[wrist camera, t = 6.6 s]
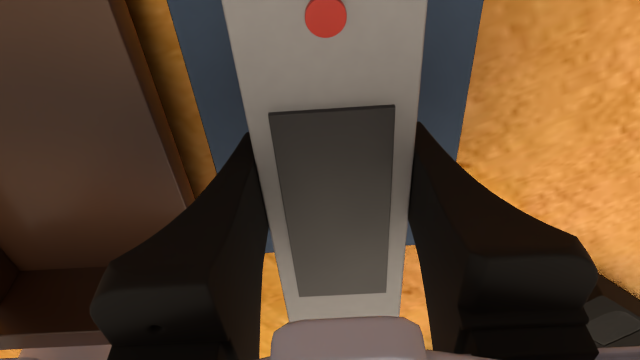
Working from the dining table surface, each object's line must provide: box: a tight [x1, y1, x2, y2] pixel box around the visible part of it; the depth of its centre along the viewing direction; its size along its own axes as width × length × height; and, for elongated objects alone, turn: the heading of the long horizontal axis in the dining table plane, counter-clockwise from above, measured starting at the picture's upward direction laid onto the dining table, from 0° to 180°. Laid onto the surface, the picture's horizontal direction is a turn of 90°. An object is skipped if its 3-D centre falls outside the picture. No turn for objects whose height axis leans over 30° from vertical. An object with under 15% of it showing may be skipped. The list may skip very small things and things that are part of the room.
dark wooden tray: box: [0, 0, 195, 350], centre depth 16 cm, size 20×10×6 cm, turn 4°
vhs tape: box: [584, 274, 640, 348], centre depth 31 cm, size 8×14×2 cm, turn 143°
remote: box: [221, 0, 428, 322], centre depth 14 cm, size 14×4×3 cm, turn 4°
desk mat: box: [167, 0, 484, 253], centre depth 18 cm, size 20×11×1 cm, turn 4°
